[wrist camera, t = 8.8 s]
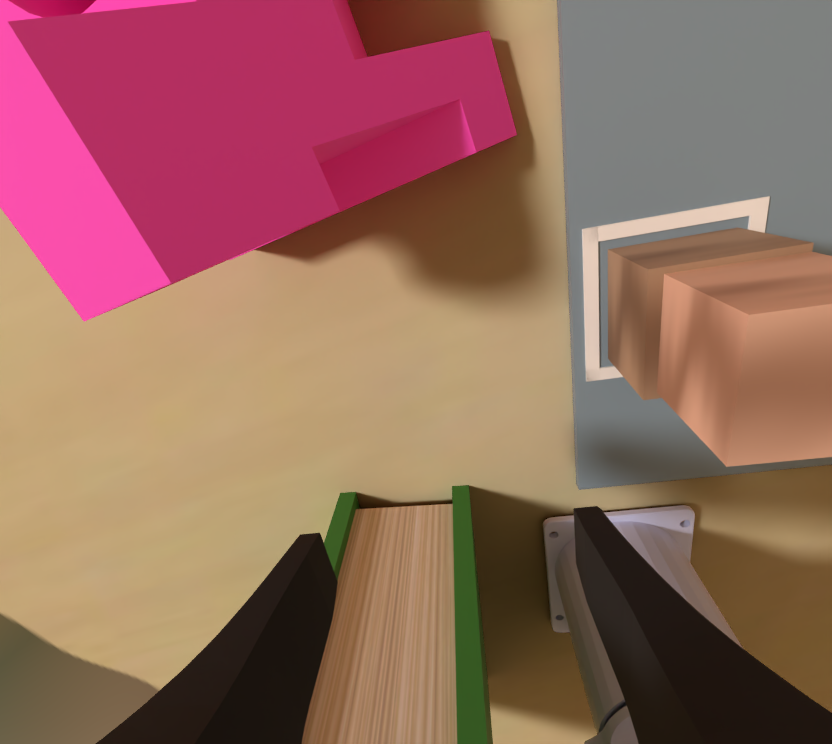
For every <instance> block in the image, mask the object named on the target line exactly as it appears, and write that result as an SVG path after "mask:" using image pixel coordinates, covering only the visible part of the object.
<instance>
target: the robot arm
mask: <svg viewBox="0 0 832 744" xmlns="http://www.w3.org/2000/svg"><path fill="white" fill-rule="evenodd" d="M684 520H685V521H684ZM682 521H684V522H682ZM694 521H695V513H694V511H693V510H692V508H691V507H689V506H687V505H680V506H669V507H658V508H647V509H637V510H626V511H615V512H603V511H602V510H601V509H600V508H599V507H597V506H595V507H584V508H574V515H571V516H560V517H551V518H547V519H546V520H545V521H544V522H543V531H544V543H545V555H546V568H547V580H548V592H549V604H550V616H551V625H552V629H553V630H554V631H555V632H559V633H563V632H570V635H571V639H572V643H573V647H574V650H575V654H576V658H577V662H578V666H579V669H580V673H581V677H582V681H583V684H584V688H585V692H586V696H587V700H588V703H589V707H590V711H591V715H592V718H593V722H594V726H595V729H596V731H597V735H596V736H595V737H593V738H591V739H589V740H587V741H585V743H584V744H832V713H831V712H830V711H828V710H827V709H825V708H824V707H822V706H821V705H819V704H818V703H816V702H815V701H813V700H812V699H810V698H809V697H808V696H806V695H805V694H803V693H802V692H801V691H799V690H798V689H797V688H795V687H794V686H792V685H791V684H790V683H788V682H787V681H786V680H784V679H783V678H781V677H780V676H779V675H777V674H776V673H775V672H773V671H772V670H771V669H769V668H768V667H766V666H765V665H764V664H762V663H761V662H760V661H758V660H757V659H756V658H754V657H753V656H752V655H750V654H749V653H748V652H747V651H745V650H744V649H743V647H742V646H741V644H740V642H739V641H738V639H737V637H736V636H735V634H734V633H733V631H732V629H731V628H730V626H729V625H728V623H727V621H726V620H725V618H724V617H723V615H722V613H721V612H720V610H719V608H718V607H717V605H716V604H715V602H714V600H713V599H712V597H711V596H710V594H709V592H708V591H707V589H706V587H705V586H704V584H703V583H702V581H701V579H700V578H699V576H698V575H697V573H696V571H695V570H694V568H693V566H692V565H691V563H690V560H691V550H692V540H693V531H694ZM551 532H555V533H551ZM337 584H338V581H337V578H336V576H335V573H334V570H333V567H332V565H331V562H330V559H329V557H328V554H327V551H326V548H325V546H324V543H323V540H322V537H321V535H320V533H313V534H303V535H300V536H299V537H298V538H297V539H296V541H295V542H294V543H293V544H292V546H291V547H290V548H289V549H288V551H287V552H286V553H285V554H284V556H283V557H282V558H281V560H280V561H279V562H278V563H277V565H276V566H275V567H274V568H273V570H272V571H271V572H270V574H269V575H268V576H267V577H266V579H265V580H264V581H263V582H262V583H261V585H260V586H259V587H258V588H257V590H256V591H255V592H254V593H253V595H252V596H251V597H250V598H249V599H248V601H247V602H246V603H245V604H244V605H243V606H242V608H241V609H240V610H239V611H238V612H237V613H236V614H235V616H234V617H233V618H232V619H231V620H230V621H229V622H228V624H227V625H226V626H225V627H224V628H223V629H222V630H221V631H220V633H219V634H218V635H217V636H216V637H215V638H214V639H213V640H212V641H211V642H210V643H209V644H208V645H207V646H206V647H205V648H204V649H203V650H202V651H201V652H200V653H199V654H198V655H197V656H196V657H195V658H194V659H193V660H192V661H191V662H190V663H189V664H188V665H187V666H186V667H185V668H184V669H183V670H182V671H181V672H180V673H179V674H178V675H177V676H175V677H174V678H173V679H172V680H171V681H170V682H169V683H168V684H167V685H165V686H164V687H163V688H162V689H161V690H160V691H159V692H158V693H157V694H155V696H153V697H152V698H151V699H150V700H149V701H148V702H147V703H146V704H144V705H143V706H142V707H141V708H140V709H138V710H137V711H136V712H135V713H133V714H132V715H131V716H130V717H129V718H127V719H126V720H125V721H124V722H123V723H122V724H120V725H119V726H118V727H117V728H115V729H114V730H113V731H111V732H110V733H109V734H108V735H106V736H105V737H104V738H103V739H101V740H100V741H99V742H97V743H96V744H302V738H303V733H304V727H305V723H306V718H307V714H308V710H309V705H310V702H311V698H312V694H313V690H314V687H315V683H316V679H317V676H318V672H319V668H320V664H321V661H322V657H323V653H324V650H325V646H326V642H327V638H328V634H329V631H330V627H331V623H332V619H333V612H334V606H335V599H336V592H337Z"/></svg>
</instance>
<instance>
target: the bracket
mask: <svg viewBox="0 0 832 744" xmlns="http://www.w3.org/2000/svg"><path fill="white" fill-rule="evenodd" d="M516 135H517V133H516V129H515V125H514V122H513V118H512V114H511V111H510V107H509V103H508V99H507V96H506V92H505V88H504V85H503V81H502V77H501V73H500V70H499V66H498V62H497V59H496V55H495V51H494V47H493V44H492V40H491V36H490V33H489V31H485V32H481V33H476V34H471V35H467V36H462V37H458V38H453V39H448V40H444V41H439V42H435V43H430V44H425V45H421V46H416V47H412V48H407V49H402V50H398V51H393V52H389V53H384V54H379V55H375V56H370V57H367V54H366V51H365V48H364V46H363V43H362V40H361V37H360V35H359V32H358V29H357V27H356V24H355V21H354V18H353V16H352V13H351V10H350V8H349V5H348V2H347V0H0V207H1V209H2V210H3V211H4V213H5V214H6V216H7V217H8V218H9V220H10V221H11V222H12V224H13V225H14V227H15V228H16V229H17V231H18V232H19V233H20V235H21V236H22V237H23V239H24V240H25V242H26V243H27V244H28V246H29V247H30V248H31V250H32V251H33V253H34V254H35V255H36V257H37V258H38V259H39V261H40V262H41V263H42V265H43V266H44V268H45V269H46V270H47V272H48V273H49V274H50V276H51V277H52V278H53V280H54V281H55V283H56V284H57V285H58V287H59V288H60V289H61V291H62V292H63V294H64V295H65V296H66V298H67V299H68V300H69V302H70V303H71V304H72V306H73V307H74V309H75V310H76V311H77V313H78V314H79V315H80V317H81V318H82V320H83V321H86V320H89V319H91V318H93V317H96V316H98V315H101V314H103V313H105V312H108V311H110V310H112V309H115V308H117V307H120V306H122V305H124V304H127V303H129V302H131V301H134V300H136V299H138V298H141V297H143V296H146V295H148V294H150V293H153V292H155V291H157V290H160V289H162V288H165V287H167V286H169V285H171V284H174V283H176V282H178V281H181V280H183V279H185V278H187V277H190V276H192V275H194V274H197V273H199V272H201V271H203V270H206V269H208V268H210V267H213V266H215V265H217V264H220V263H222V262H224V261H226V260H231V259H233V258H236V257H238V256H240V255H243V254H245V253H247V252H250V251H252V250H254V249H257V248H259V247H261V246H264V245H266V244H268V243H271V242H273V241H275V240H277V239H280V238H282V237H284V236H287V235H289V234H291V233H293V232H296V231H298V230H300V229H303V228H305V227H307V226H309V225H312V224H314V223H316V222H319V221H321V220H323V219H326V218H328V217H330V216H332V215H335V214H337V213H339V212H342V211H344V210H346V209H348V208H351V207H353V206H355V205H358V204H360V203H362V202H364V201H367V200H369V199H371V198H374V197H376V196H378V195H381V194H383V193H385V192H387V191H390V190H392V189H394V188H397V187H399V186H401V185H403V184H406V183H408V182H410V181H413V180H415V179H417V178H419V177H422V176H424V175H426V174H429V173H431V172H433V171H436V170H438V169H440V168H442V167H445V166H447V165H449V164H452V163H454V162H456V161H458V160H461V159H463V158H465V157H468V156H470V155H472V154H474V153H477V152H479V151H481V150H484V149H486V148H488V147H491V146H493V145H495V144H497V143H500V142H502V141H504V140H507V139H509V138H511V137H513V136H516Z"/></svg>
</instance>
